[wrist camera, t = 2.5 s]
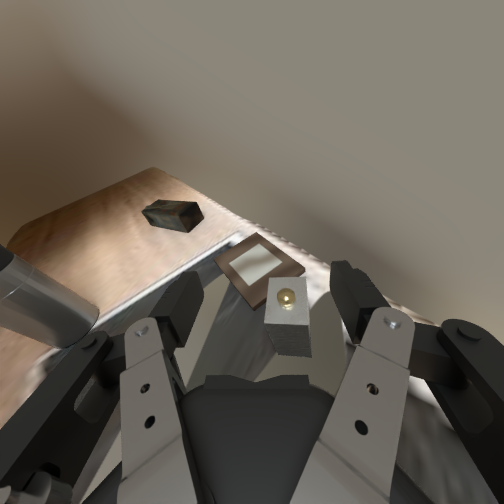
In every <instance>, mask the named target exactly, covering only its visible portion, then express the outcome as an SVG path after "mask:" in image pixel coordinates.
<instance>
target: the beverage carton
mask: <svg viewBox="0 0 504 504" xmlns="http://www.w3.org/2000/svg"><path fill="white" fill-rule="evenodd" d="M142 213H143V215H144V216H145V218H146V219H147V220H148V222H149V223H150V225H151V226H156V227H161V228H166V229H171V230H177V231H182V232H187V233H189V232H190V231H191V230H192V229H193V228H194V227H195V226H196V225H198V224H199V223H200V222H201V221H202V220H203V219H204V217H203V214H202V212H201V210H200V208H199V206H198V204H197V202H187V201H171V200H159V199H158V200H157V201H155V202H154V203H152V204H151V205H150V206H146V207H145V209H144V210H143V211H142Z"/></svg>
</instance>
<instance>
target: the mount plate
mask: <svg viewBox="0 0 504 504" xmlns="http://www.w3.org/2000/svg"><path fill="white" fill-rule="evenodd" d="M214 261H215V263H216V264H217V265H218V267H219V268H220V269H221V270H222V272H223V273H224V274H225V275H226V277H227V278H228V279H229V280H230V282H231V283H232V284H233V285H234V287H235V288H236V289H237V290H238V292H239V293H240V294H241V295H242V297H243V298H244V299H245V300H246V302H247V303H248V304H249V305H250V307H251V308H252V309H253V310H254V311H255V310H256V309H257V308H259V307H260V306H261V305H263V304H264V303H265V302H267V294H268V284H269V278H277V277H299V276H300V275H302V274H303V273H304V272H305V267H303V266H302V265H301V264H299V263H298V262H297V261H295V260H294V259H292V258H291V257H290V256H288V255H287V254H286V253H284V252H283V251H281V250H280V249H279V248H277V247H276V246H275V245H273V244H272V243H270V242H269V241H268V240H266V239H265V238H264V237H262V236H261V235H260V234H258V233H257V232H256V233H254V234H252V235H251V236H249V237H248V238H246V239H245V240H243V241H241V242H240V243H238V244H237V245H235V246H234V247H232V248H230V249H229V250H227V251H226V252H224V253H222V254H221V255H219V256H218V257H216V258H215V259H214Z"/></svg>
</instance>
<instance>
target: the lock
mask: <svg viewBox="0 0 504 504" xmlns="http://www.w3.org/2000/svg"><path fill="white" fill-rule="evenodd" d="M264 324H265V326H266V328H267V331H268V333H269V335H270V337H271V340H272V342H273V344H274V346H275V348H276V351H277V353H278V355H286V356H297V357H309V358H311V357H312V355H311V337H310V319H309V307H308V295H307V284H306V277H277V278H269V284H268V294H267V303H266V312H265V321H264Z"/></svg>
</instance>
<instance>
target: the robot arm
mask: <svg viewBox="0 0 504 504" xmlns="http://www.w3.org/2000/svg"><path fill="white" fill-rule="evenodd" d="M330 291H331V294H332V297H333V299H334V301H335V304H336V306H337V308H338V310H339V313H340V315H341V318H342V320H343V322H344V325H345V327H346V329H347V332H348V334H349V336H350V338H351V341H352V343H353V344H360V345H358V346H357V348H356V350H355V353H354V355H353V358H352V360H351V362H350V365H349V367H348V370H347V372H346V374H345V377H344V379H343V381H342V384H341V386H340V389H339V391H338V393H337V396H336V397H335V396H333V395H332V394H330V393H329V392H328V391H326V390H324V389H322V388H320V387H318V386H315V385H312V384H309V379H308V375H280V376H277V377H273V378H270V379H267V380H263V381H260V382H251V381H248V380H244V379H241V378H237V377H234V376H231V375H206V379H205V383H204V385H201V386H198V387H196V388H194V389H193V390H191V391H189V392H188V393H187V391H186V388H185V386H184V383H183V380H182V377H181V374H180V370H179V367H178V364H177V361H176V358H175V355H174V351H175V348H182V347H184V346H185V344H186V342H187V339H188V337H189V334H190V332H191V329H192V327H193V324H194V322H195V319H196V316H197V314H198V312H199V309H200V306H201V304H202V302H203V298H204V291H203V288H202V285H201V282H200V279H199V276H198V273H197V272H196V271H189V272H183V273H182V274H181V276H180V277H179V279H178V280H176V281H174V282H173V283H172V284H171V285H169V286H168V288H167V289H166V291H165V292H164V294H163V295H162V297H161V299H160V300H159V301H158V303H157V304H156V306H155V307H154V308H153V310H152V311H151V313H150V314H149V316H148V317H147V318H143V319H141V320H139V321H137V322H135V323H134V324H132V325H131V326H130V327H129V328H128V330H127V331H126V333H123V334H120V335H117V336H113V337H109V336H108V334H107V333H106V332H104V331H98V332H94V333H92V334H89V335H88V336H86V337H84V338H83V339H81V338H82V337H83V336H84V335H85V334H86V333H87V332H88V331H89V330H90V329H91V328H92V326H93V325H94V323H95V322H96V320H97V318H98V314H99V310H98V308H97V307H96V306H94V305H93V304H91V303H90V302H88V301H87V300H85V299H84V298H82V297H81V296H79V295H78V294H76V293H75V292H73V291H71V290H70V289H68V288H67V287H65V286H64V285H62V284H61V283H59V282H57V281H56V280H54V279H53V278H51V277H50V276H48V275H47V274H45V273H43V272H42V271H40V270H39V269H37V268H36V267H34V266H32V265H31V264H29V263H28V262H26V261H24V260H23V259H21V258H20V257H18V256H17V255H15V254H14V253H12V252H10V251H9V250H7V249H6V248H4V247H3V246H2V245H1V244H0V326H1V327H4V328H7V329H9V330H12V331H14V332H17V333H19V334H22V335H25V336H27V337H30V338H32V339H35V340H37V341H40V342H42V343H45V344H48V345H50V346H53V347H56V348H65V347H68V346H70V345H72V344H74V343H75V342H77V341H78V340H79V339H81V340H80V341H79V342H78V343H77V344H76V345H75V346H74V347H73V348H72V349H71V350H70V352H69V353H68V354H67V355H66V356H65V357H64V358H63V359H62V361H61V362H60V363H59V364H58V365H57V366H56V367H55V369H54V370H53V371H52V372H51V373H50V374H49V375H48V376H47V378H46V379H45V380H44V381H43V382H42V383H41V384H40V385H39V387H38V388H37V389H36V390H35V391H34V392H33V393H32V395H31V396H30V397H29V398H28V399H27V400H26V401H25V402H24V404H23V405H22V406H21V407H20V408H19V409H18V410H17V411H16V413H15V414H14V415H13V416H12V417H11V418H10V419H9V420H8V422H7V423H6V424H5V425H4V426H3V427H2V428H1V430H0V504H71V500H72V489H73V487H74V485H75V483H76V481H77V479H78V477H79V476H80V474H81V472H82V470H83V468H84V466H85V464H86V462H87V460H88V458H89V456H90V455H91V453H92V451H93V449H94V447H95V445H96V443H97V441H98V439H99V437H100V435H101V434H102V432H103V430H104V428H105V426H106V424H107V422H108V420H109V418H110V416H111V414H112V413H113V411H114V409H115V407H116V405H117V403H118V401H119V399H120V403H121V439H122V461H121V462H120V463H119V464H118V465H117V466H116V467H115V468H114V469H113V470H112V472H111V473H110V474H109V475H108V476H107V477H106V478H105V479H104V480H103V481H102V482H101V483H100V484H99V486H98V487H97V488H96V489H95V490H94V491H93V492H92V493H91V494H90V495H89V496H88V497H87V498H86V499H85V500H84V501H83V503H82V504H435V502H434V501H433V500H432V499H431V498H430V497H429V496H428V495H427V494H426V493H425V492H424V491H423V490H422V488H421V487H420V486H419V485H418V484H417V483H416V482H415V481H414V480H413V479H412V478H411V477H410V476H409V474H408V473H407V472H406V471H405V470H404V469H403V468H402V467H401V466H400V465H399V464H398V463H397V462H396V460H395V459H396V453H397V447H398V441H399V435H400V429H401V423H402V418H403V412H404V406H405V400H406V394H407V388H408V382H409V376H414V377H417V378H421V379H424V380H425V382H426V383H427V385H428V387H429V388H430V390H431V392H432V393H433V395H434V397H435V398H436V400H437V402H438V403H439V405H440V407H441V408H442V410H443V412H444V413H445V415H446V417H447V418H448V420H449V422H450V423H451V425H452V427H453V428H454V430H455V431H456V433H457V435H458V436H459V438H460V440H461V441H462V443H463V445H464V446H465V448H466V450H467V451H468V453H469V455H470V456H471V458H472V460H473V461H474V463H475V465H476V466H477V468H478V470H479V471H480V473H481V475H482V476H483V478H484V479H485V481H486V483H487V484H488V486H489V488H490V489H491V491H492V493H493V494H494V496H495V498H496V499H497V501H498V503H499V504H504V346H503V345H502V344H501V343H500V342H499V341H498V340H497V339H496V338H495V337H494V336H492V335H491V334H490V333H489V332H488V331H486V330H485V329H483V328H481V327H479V326H477V325H475V324H473V323H470V322H467V321H464V320H458V319H448V320H446V321H444V322H443V323H442V325H441V327H437V326H432V325H427V324H422V323H417V322H413V320H412V319H411V318H410V317H409V316H408V315H407V314H405V313H404V312H402V311H400V310H397V309H395V308H392V307H391V306H390V305H389V303H388V302H387V301H386V299H385V298H384V297H383V296H382V294H381V293H380V292H379V290H378V289H377V288H376V287H375V285H374V284H373V283H372V282H371V280H370V278H369V277H368V276H367V275H366V274H365V273H364V272H362V271H361V270H359V269H352V267H351V266H350V264H349V263H348V261H346V260H344V261H332V263H331V271H330ZM91 377H92V378H93V379H94V380H95V383H94V384H93V386H92V387H91V389H90V390H89V392H88V393H87V395H86V396H85V398H84V399H83V401H82V402H81V404H80V405H79V407H78V408H77V410H76V411H75V410H74V403H75V400H76V398H77V396H78V395H79V393H80V392H81V391H82V389H83V388H84V386H85V385H86V383H87V382H88V380H89V379H90V378H91Z"/></svg>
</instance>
